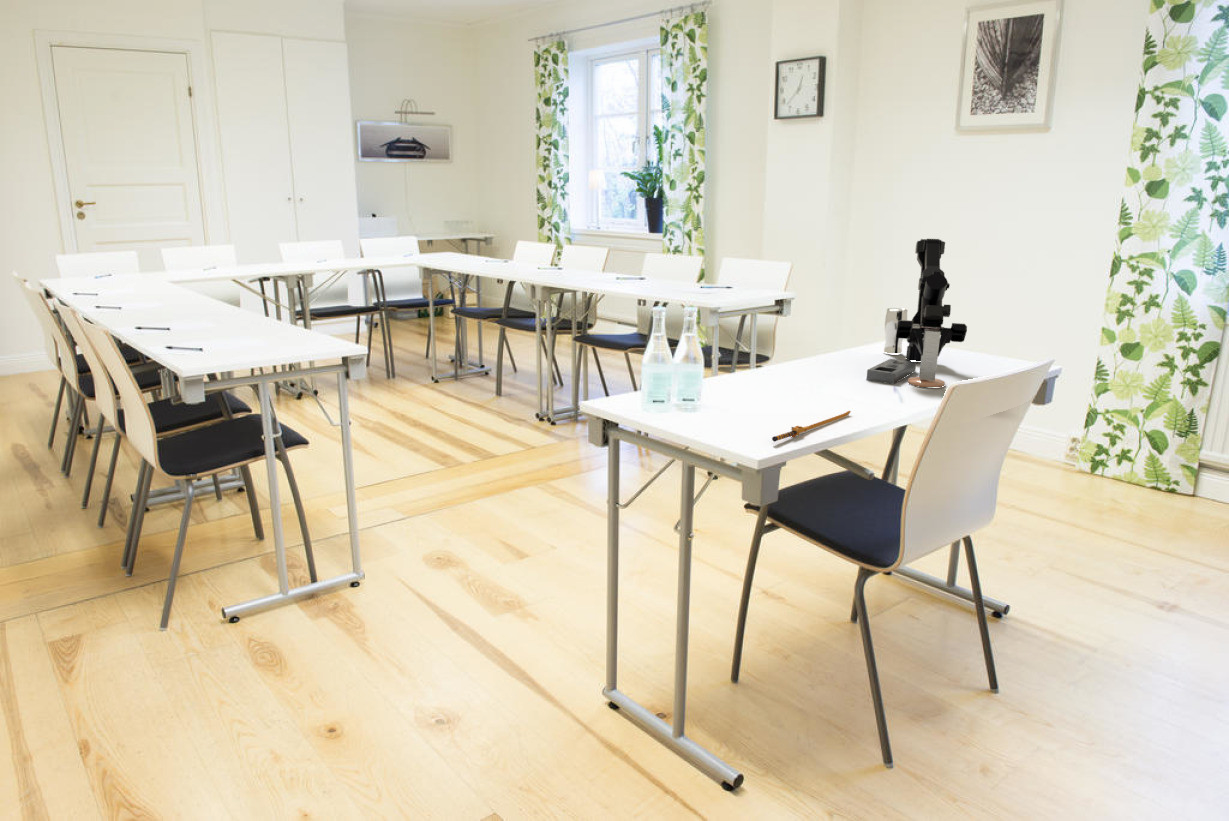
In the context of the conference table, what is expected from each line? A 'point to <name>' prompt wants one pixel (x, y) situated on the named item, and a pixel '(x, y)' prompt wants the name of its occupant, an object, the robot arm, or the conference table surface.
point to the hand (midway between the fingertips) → (930, 355)
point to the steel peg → (929, 354)
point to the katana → (808, 427)
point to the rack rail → (891, 371)
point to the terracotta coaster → (925, 382)
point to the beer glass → (893, 329)
